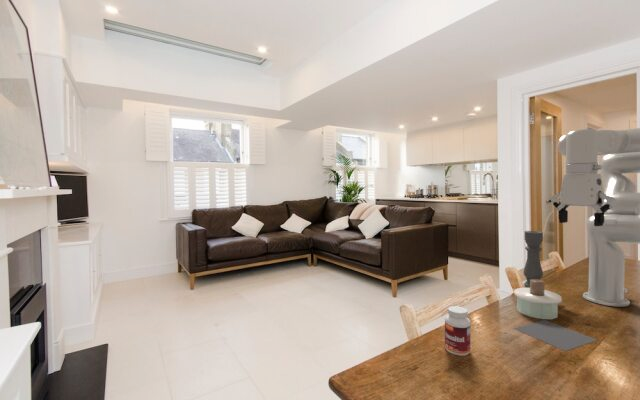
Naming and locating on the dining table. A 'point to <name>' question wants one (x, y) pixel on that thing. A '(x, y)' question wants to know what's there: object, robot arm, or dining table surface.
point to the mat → (555, 335)
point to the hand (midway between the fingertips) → (580, 224)
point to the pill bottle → (457, 331)
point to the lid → (537, 293)
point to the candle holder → (533, 256)
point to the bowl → (537, 309)
